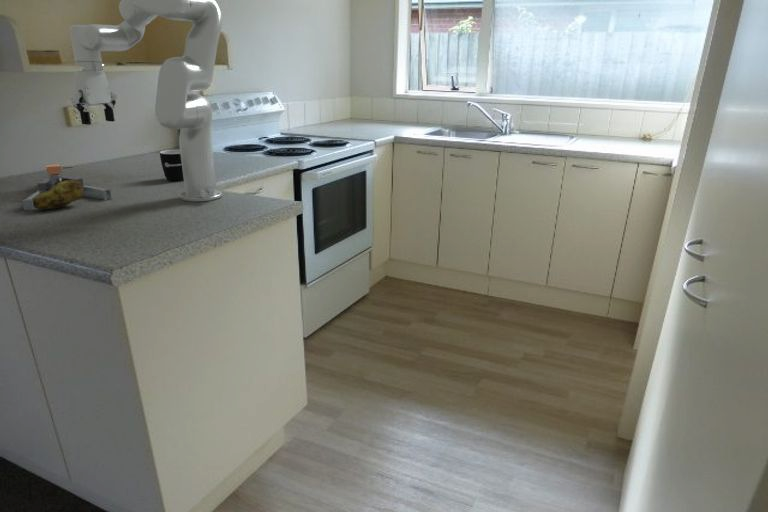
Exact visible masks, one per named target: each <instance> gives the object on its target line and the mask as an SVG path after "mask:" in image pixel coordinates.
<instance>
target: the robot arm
mask: <svg viewBox="0 0 768 512" xmlns="http://www.w3.org/2000/svg"><path fill="white" fill-rule="evenodd" d="M118 10H119V11H118V12H119V13H120V15H121V17H122V18H123V21H122V22H121V23H120V24H118V25H115V24H114V25H113V24H100V23H99V24H98V23H97V24H96V23H95V24H94V23H91V24H87V25H86V24H73V25H71V26H70V27H69V35H70V40H71V47H72V50H73V51H72V52H73V57H74V65H75V66H76V65H79V66H82V67H84V68H83V69H82V71H78V72H77V71H76V72H74V76H73V77H74V78H73V79H74V82H73V84H74V93H75V94H74V95H72V96H71V97H70V101H71V102H72V104H73V107H74V108H76V110H77V111H78V112H79V115H80V120H81V125H88V126H89V125H92V121H91V115H90V111H88V110H89V108H90V106H98V105H99V106H100V105H102V106H104V109H103V111H104V117H105V121H106V122H115V121H116V119H115V115H114V114H115V113H114V109H115V106H116V103H117V102H116V101H117V96H118V95H117V94H116V93H114V92H113V91H110V85H109V82H108V79H107V75H106V72H105V71H104V68H103V66H104V65H105V64H103V60H102V54H101V52H124V51H128V50H129V49H131V48H133V47H134V46H135V45H137V44H138V43H139V42H141V40H142V39H143V37H144V34H145V31H146V26H147V25H148V24H150V23H151V22H152V21H154V20H155V19H156V18H157V17H162V18H164V19H167V20H173V21H182V22H191V23H193V25H192V27H191V28H190V30H189V31H188V33H187V35H186V39H185V43H184V44H185V45H184V51H183V55H182V56H174V57H173V56H172V57H170V58H168V59H166V60H164V62H163V63H162V64H161V66H160V68H159V71H158V78H157V87H156V95H155V107H154V110H155V115H156V116H155V117H156V119H157V121H158V123H159V124H160V125H161V126H162V127H163V128H164V129H166V130H172V131H175V130H176V131H177V130H180V131H179V139H178V142H179V143H178V144H179V150H180V154H181V162H182V170H183V178H184V180H183V184H184V191H183V192H182V193H181V194H180V195H179V196H180V199H181V200H182V201H185V202H207V201H213V200H218V199H220V198H221V197H222V196H223V192H222V190H219V189H217V181H216V172H215V163H214V153H213V141H212V120H213V110H212V106H211V103H210V102H209V100H208V99H207V98H206V97H204V96H203V95H201V94H198V93H195V92H203V91H206V90H208V89H210V87H211V84H212V81H213V76H214V70H215V64H216V59H217V58H216V57H217V49H218V44H219V40H220V37H221V36H220V35H221V33H222V28H223V27H222V26H223V16H222V11H221V9H220V6H219V5H218V3H217V1H216V0H121V1H120V2H119V4H118ZM104 67H105V66H104ZM193 92H194V93H193Z"/></svg>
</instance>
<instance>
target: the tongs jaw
mask: <svg viewBox="0 0 768 512" xmlns="http://www.w3.org/2000/svg"><path fill="white" fill-rule="evenodd" d="M57 178H59V179H62V181H66V180H75V181H78V182H80V183H81V184H82V185H83V187H84V190H83V195H82V197H87V198H94V199H99V200H103V201H109V200H112V199H113V195H112V189H109V188H104V187H103V188H102V187H98V186H97V187H96V186H90V185H87V184H84V181H83V178H82V177H76V176H70V175H66V176H65V175H62V176H57Z"/></svg>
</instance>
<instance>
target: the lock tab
mask: <svg viewBox="0 0 768 512" xmlns="http://www.w3.org/2000/svg"><path fill="white" fill-rule="evenodd" d="M45 168H46V172H47V175H51V174H58V173H59V174H62V167H61V165H60V164H51V165H50V164H48V165H45Z"/></svg>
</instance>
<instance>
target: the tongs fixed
mask: <svg viewBox="0 0 768 512" xmlns="http://www.w3.org/2000/svg"><path fill="white" fill-rule="evenodd" d="M57 176H63V175H62V173H58V174H48V178H46V177H45V178H44V179H42V180H40V181H39V182H37V189H38V190H37V191H36V192H34V193H32V194H31V195H30V196H28V197H26V198H25V199H22V200H21V203H22V207H23V211H24V210H27V211H35V210H34V209H36V208H35V207H34V206H33V199H34V198H35V197H36V196H38V195H39V194H41V193H43V192H46V191H49V190H50V189H51V188H52V187H53V186H55V185H56V184H58V183H60V182H62V179H59V178H57Z"/></svg>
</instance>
